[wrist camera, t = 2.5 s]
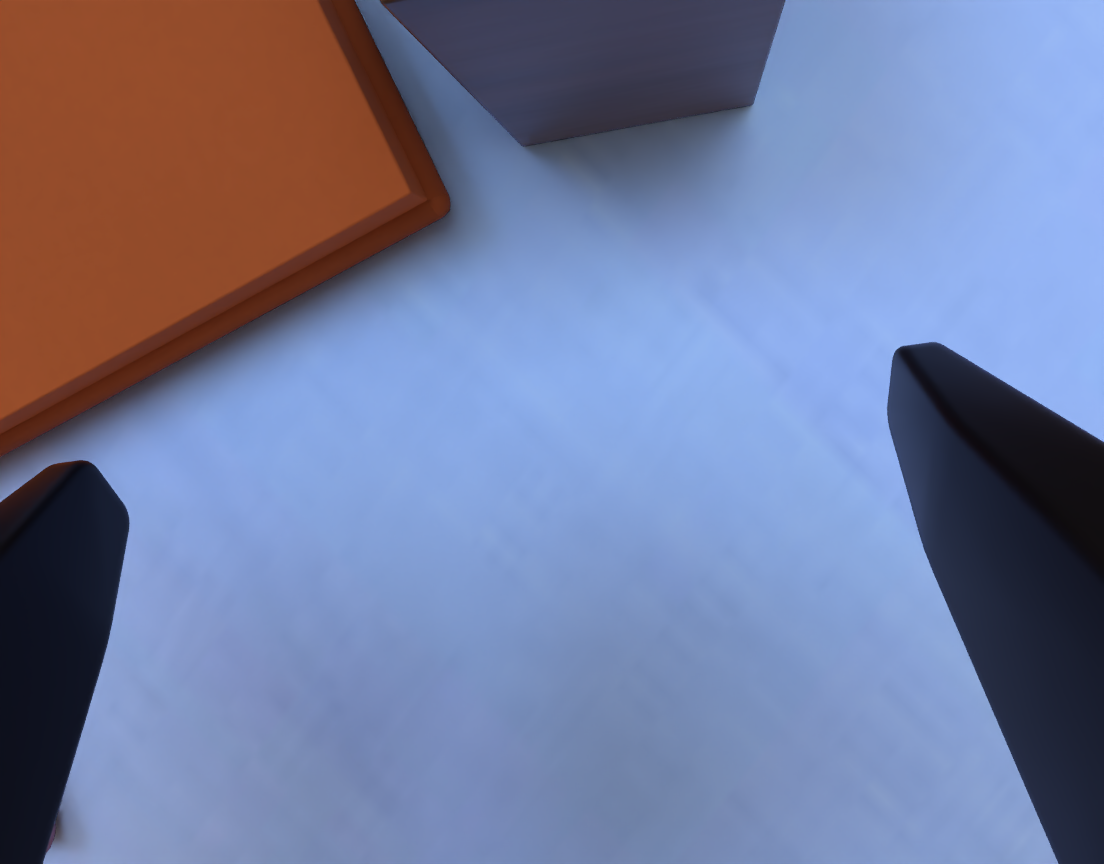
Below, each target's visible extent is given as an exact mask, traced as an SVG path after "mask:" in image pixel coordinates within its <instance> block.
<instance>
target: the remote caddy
mask: <svg viewBox="0 0 1104 864" xmlns="http://www.w3.org/2000/svg"><path fill="white" fill-rule="evenodd" d="M380 1H381V3H382V5H383V6H384V7H385V8H386V9H387V10H388V11H389V12H390V13H391V14H392V15H393V16H394V17H395V18H396V19H397V20H398V21H399V22H400V23H401V24H402V25H403V26H404V27H405V28H406V29H407V30H408V31H409V32H410V33H411V34H412V35H413V36H414V37H415V38H416V39H417V40H418V41H419V42H420V43H421V44H422V45H423V46H424V47H425V48H426V49H427V50H428V51H429V52H430V53H431V54H432V55H433V56H434V57H435V58H436V59H437V60H438V61H439V62H440V63H441V64H442V65H443V66H444V68H445V69H446V70H447V71H448V72H449V73H450V74H451V75H452V76H453V77H454V78H455V79H456V80H457V81H458V82H459V83H460V84H461V85H462V86H463V87H464V88H465V89H466V90H467V91H468V92H469V93H470V94H471V95H472V96H473V97H474V98H475V99H476V100H477V101H478V102H479V103H480V104H481V105H482V106H483V107H484V108H485V109H486V110H487V111H488V112H489V113H490V114H491V115H492V116H493V117H494V118H495V119H496V120H497V121H498V122H499V123H500V124H501V125H502V126H503V127H504V128H505V129H506V131H507V132H508V133H509V134H510V135H511V136H512V137H513V138H514V139H515V140H516V141H517V142H518V143H519V144H520V145H521V146H528V145H534V144H539V143H545V142H550V141H556V140H561V139H567V138H572V137H578V136H583V135H589V134H594V133H600V132H605V131H611V130H616V129H622V128H628V127H633V126H639V125H644V124H650V123H655V122H661V121H666V120H672V119H677V118H683V117H688V116H694V115H699V114H705V113H710V112H716V111H721V110H727V109H732V108H738V107H743V106H749V105H752V104H753V103H754V100H755V97H756V93H757V90H758V87H759V84H760V80H761V77H762V74H763V71H764V68H765V64H766V61H767V58H768V55H769V51H770V48H771V45H772V42H773V38H774V35H775V32H776V29H777V26H778V22H779V19H780V16H781V13H782V9H783V6H784V3H785V0H380Z"/></svg>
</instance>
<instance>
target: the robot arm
mask: <svg viewBox="0 0 1104 864" xmlns="http://www.w3.org/2000/svg"><path fill="white" fill-rule="evenodd" d="M887 415H888V423H889V428H890V432H891V436H892V439H893V443H894V446H895V450H896V453H897V457H898V460H899V464H900V467H901V471H902V474H903V478H904V481H905V485H906V489H907V492H908V496H909V499H910V503H911V506H912V510H913V513H914V517H915V520H916V524H917V527H918V531H919V534H920V537H921V540H922V544H923V547H924V550H925V553H926V555H927V558H928V560H929V563H930V565H931V568H932V571H933V573H934V575H935V578H936V580H937V582H938V585H939V587H940V589H941V591H942V594H943V596H944V598H945V601H946V603H947V605H948V608H949V610H950V612H951V615H952V617H953V619H954V622H955V624H956V626H957V629H958V631H959V633H960V636H961V638H962V640H963V643H964V645H965V647H966V650H967V652H968V654H969V657H970V659H971V661H972V664H973V666H974V668H975V671H976V673H977V675H978V678H979V680H980V682H981V685H982V687H983V689H984V692H985V694H986V696H987V698H988V701H989V703H990V705H991V708H992V710H993V712H994V715H995V717H996V719H997V722H998V724H999V726H1000V729H1001V731H1002V733H1003V736H1004V738H1005V740H1006V743H1007V745H1008V747H1009V750H1010V752H1011V754H1012V757H1013V759H1014V761H1015V764H1016V766H1017V768H1018V771H1019V773H1020V775H1021V778H1022V780H1023V782H1024V785H1025V787H1026V789H1027V792H1028V794H1029V796H1030V798H1031V801H1032V803H1033V805H1034V808H1035V810H1036V812H1037V815H1038V817H1039V819H1040V822H1041V824H1042V826H1043V829H1044V831H1045V833H1046V836H1047V838H1048V840H1049V843H1050V845H1051V847H1052V850H1053V852H1054V854H1055V857H1056V859H1057V861H1058V864H1104V442H1103V441H1101V440H1099V439H1098V438H1096V437H1094V436H1093V435H1091V434H1089V433H1088V432H1086V431H1085V430H1083V429H1081V428H1080V427H1078V426H1076V425H1075V424H1073V423H1071V422H1070V421H1068V420H1066V419H1065V418H1063V417H1061V416H1060V415H1058V414H1056V413H1055V412H1053V411H1051V410H1050V409H1048V408H1046V407H1045V406H1043V405H1042V404H1040V403H1038V402H1037V401H1035V400H1033V399H1032V398H1030V397H1028V396H1027V395H1025V394H1023V393H1022V392H1020V391H1018V390H1017V389H1015V388H1013V387H1012V386H1010V385H1008V384H1007V383H1005V382H1003V381H1002V380H1000V379H999V378H997V377H995V376H994V375H992V374H990V373H989V372H987V371H985V370H984V369H982V368H980V367H979V366H977V365H975V364H974V363H972V362H970V361H969V360H967V359H965V358H964V357H962V356H960V355H959V354H957V353H956V352H954V351H952V350H951V349H949V348H947V347H946V346H944V345H942V344H940V343H936V342H929V343H922V344H915V345H908V346H902V347H900V348H898V349H897V350H896V351H895V353H894V356H893V360H892V368H891V377H890V386H889V396H888V405H887ZM128 532H129V516H128V512H127V509H126V507H125V505H124V504H123V502H122V501H121V500H120V498H119V497H118V496H117V494H116V493H115V492H114V490H113V489H112V487H111V486H110V485H109V483H108V482H107V481H106V479H105V478H104V477H103V475H102V474H101V473H100V471H99V470H98V469H97V467H96V466H95V465H93V464H92V463H90V462H88V461H83V460H79V461H72V462H65V463H58V464H53V465H51V466H49V467H47V468H45V469H44V470H43V471H41V472H40V473H39V474H37V475H36V476H35V477H33V478H32V479H31V480H29V481H28V482H27V483H25V484H24V485H23V486H22V487H20V488H19V489H18V490H16V491H15V492H14V493H12V494H11V495H10V496H8V497H7V498H6V499H4V500H3V501H2V502H0V864H43V861H44V858H45V854H46V851H47V848H48V844H49V841H50V838H51V834H52V831H53V827H54V824H55V821H56V817H57V814H58V811H59V807H60V804H61V801H62V797H63V794H64V790H65V787H66V784H67V780H68V777H69V774H70V770H71V767H72V764H73V760H74V757H75V753H76V750H77V747H78V743H79V740H80V737H81V733H82V730H83V727H84V723H85V720H86V716H87V713H88V710H89V706H90V703H91V700H92V696H93V693H94V690H95V686H96V683H97V679H98V676H99V673H100V669H101V666H102V663H103V659H104V655H105V651H106V648H107V644H108V640H109V635H110V630H111V625H112V620H113V615H114V609H115V604H116V598H117V593H118V587H119V582H120V576H121V571H122V565H123V560H124V554H125V549H126V543H127V538H128Z"/></svg>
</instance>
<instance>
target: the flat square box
mask: <svg viewBox="0 0 1104 864" xmlns="http://www.w3.org/2000/svg"><path fill="white" fill-rule="evenodd" d="M449 210H450V197H449V195H448V192H447V190H446V188H445V186H444V184H443V182H442V180H441V178H440V176H439V174H438V172H437V170H436V168H435V166H434V164H433V162H432V159H431V157H430V155H429V153H428V151H427V149H426V147H425V145H424V143H423V141H422V139H421V137H420V135H419V133H418V131H417V128H416V126H415V124H414V122H413V120H412V118H411V116H410V114H409V112H408V110H407V108H406V106H405V104H404V102H403V100H402V98H401V95H400V93H399V91H398V89H397V87H396V85H395V83H394V81H393V79H392V77H391V75H390V73H389V71H388V69H387V67H386V64H385V62H384V60H383V58H382V56H381V54H380V52H379V50H378V48H377V46H376V44H375V42H374V40H373V38H372V36H371V34H370V31H369V29H368V27H367V25H366V23H365V21H364V19H363V17H362V15H361V13H360V11H359V9H358V7H357V5H356V3H355V0H0V457H1V456H3V455H5V454H7V453H9V452H11V451H12V450H14V449H16V448H18V447H20V446H22V445H24V444H25V443H27V442H29V441H31V440H33V439H35V438H36V437H38V436H40V435H42V434H44V433H46V432H48V431H49V430H51V429H53V428H55V427H57V426H59V425H60V424H62V423H64V422H66V421H68V420H70V419H72V418H73V417H75V416H77V415H79V414H81V413H83V412H84V411H86V410H88V409H90V408H92V407H94V406H96V405H97V404H99V403H101V402H103V401H105V400H107V399H108V398H110V397H112V396H114V395H116V394H118V393H120V392H121V391H123V390H125V389H127V388H129V387H131V386H132V385H134V384H136V383H138V382H140V381H142V380H144V379H145V378H147V377H149V376H151V375H153V374H155V373H156V372H158V371H160V370H162V369H164V368H166V367H168V366H169V365H171V364H173V363H175V362H177V361H179V360H180V359H182V358H184V357H186V356H188V355H190V354H192V353H193V352H195V351H197V350H199V349H201V348H203V347H205V346H206V345H208V344H210V343H212V342H214V341H216V340H217V339H219V338H221V337H223V336H225V335H227V334H229V333H230V332H232V331H234V330H236V329H238V328H240V327H241V326H243V325H245V324H247V323H249V322H251V321H253V320H254V319H256V318H258V317H260V316H262V315H264V314H265V313H267V312H269V311H271V310H273V309H275V308H277V307H278V306H280V305H282V304H284V303H286V302H288V301H289V300H291V299H293V298H295V297H297V296H299V295H301V294H302V293H304V292H306V291H308V290H310V289H312V288H313V287H315V286H317V285H319V284H321V283H323V282H325V281H326V280H328V279H330V278H332V277H334V276H336V275H337V274H339V273H341V272H343V271H345V270H347V269H349V268H350V267H352V266H354V265H356V264H358V263H360V262H361V261H363V260H365V259H367V258H369V257H371V256H373V255H374V254H376V253H378V252H380V251H382V250H384V249H385V248H387V247H389V246H391V245H393V244H395V243H397V242H398V241H400V240H402V239H404V238H406V237H408V236H409V235H411V234H413V233H415V232H417V231H419V230H421V229H422V228H424V227H426V226H428V225H430V224H432V223H433V222H435V221H437V220H439V219H441V218H443V217H444V216H445V215H446V214H447V213H448V211H449Z"/></svg>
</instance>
